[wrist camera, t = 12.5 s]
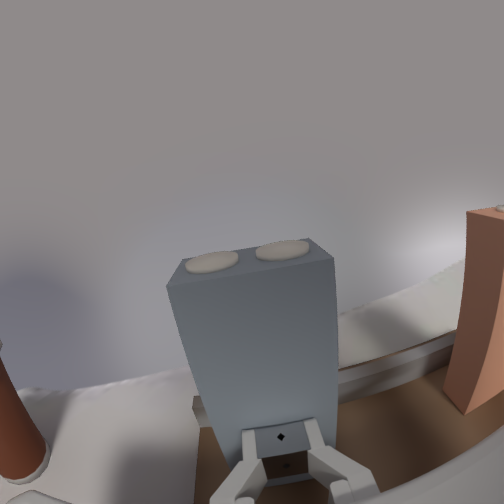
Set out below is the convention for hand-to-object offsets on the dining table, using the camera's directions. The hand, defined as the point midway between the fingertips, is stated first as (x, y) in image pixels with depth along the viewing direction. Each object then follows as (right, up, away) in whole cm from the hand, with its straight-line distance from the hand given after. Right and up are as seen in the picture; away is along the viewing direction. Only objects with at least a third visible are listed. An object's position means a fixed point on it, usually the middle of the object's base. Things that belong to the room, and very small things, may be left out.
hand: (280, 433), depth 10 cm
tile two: (+1, -4, +3) cm, 5 cm away
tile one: (+14, -2, +3) cm, 15 cm away
